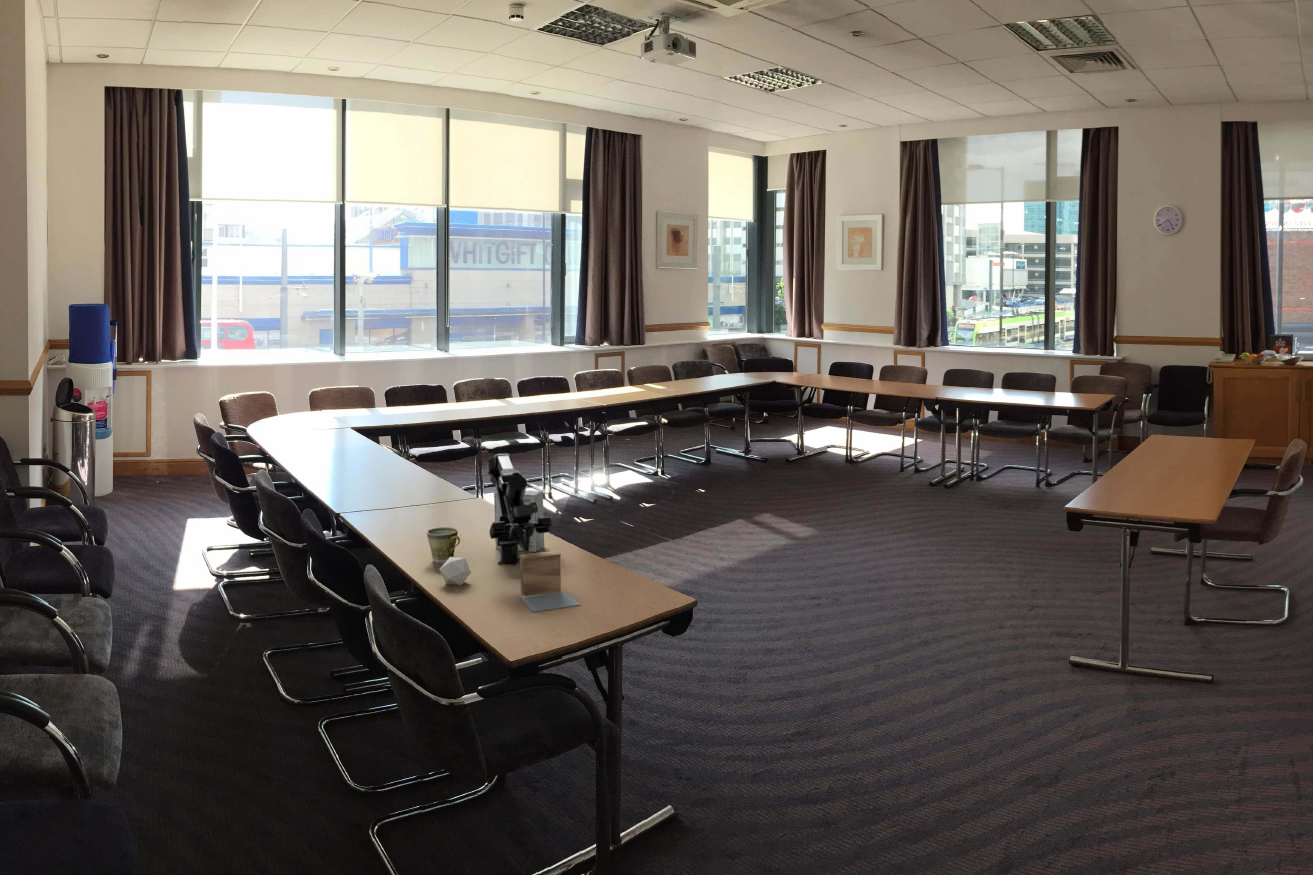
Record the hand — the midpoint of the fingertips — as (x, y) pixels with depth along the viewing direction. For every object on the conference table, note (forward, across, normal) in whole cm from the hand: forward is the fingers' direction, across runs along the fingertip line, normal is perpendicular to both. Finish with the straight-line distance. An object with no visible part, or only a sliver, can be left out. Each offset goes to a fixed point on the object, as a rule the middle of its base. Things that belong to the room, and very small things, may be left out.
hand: (527, 551), depth 283 cm
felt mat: (+20, +1, -6) cm, 21 cm away
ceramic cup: (-17, -17, +32) cm, 40 cm away
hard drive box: (-20, +9, +36) cm, 42 cm away
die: (0, -20, +15) cm, 25 cm away
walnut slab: (+14, +1, +1) cm, 14 cm away
